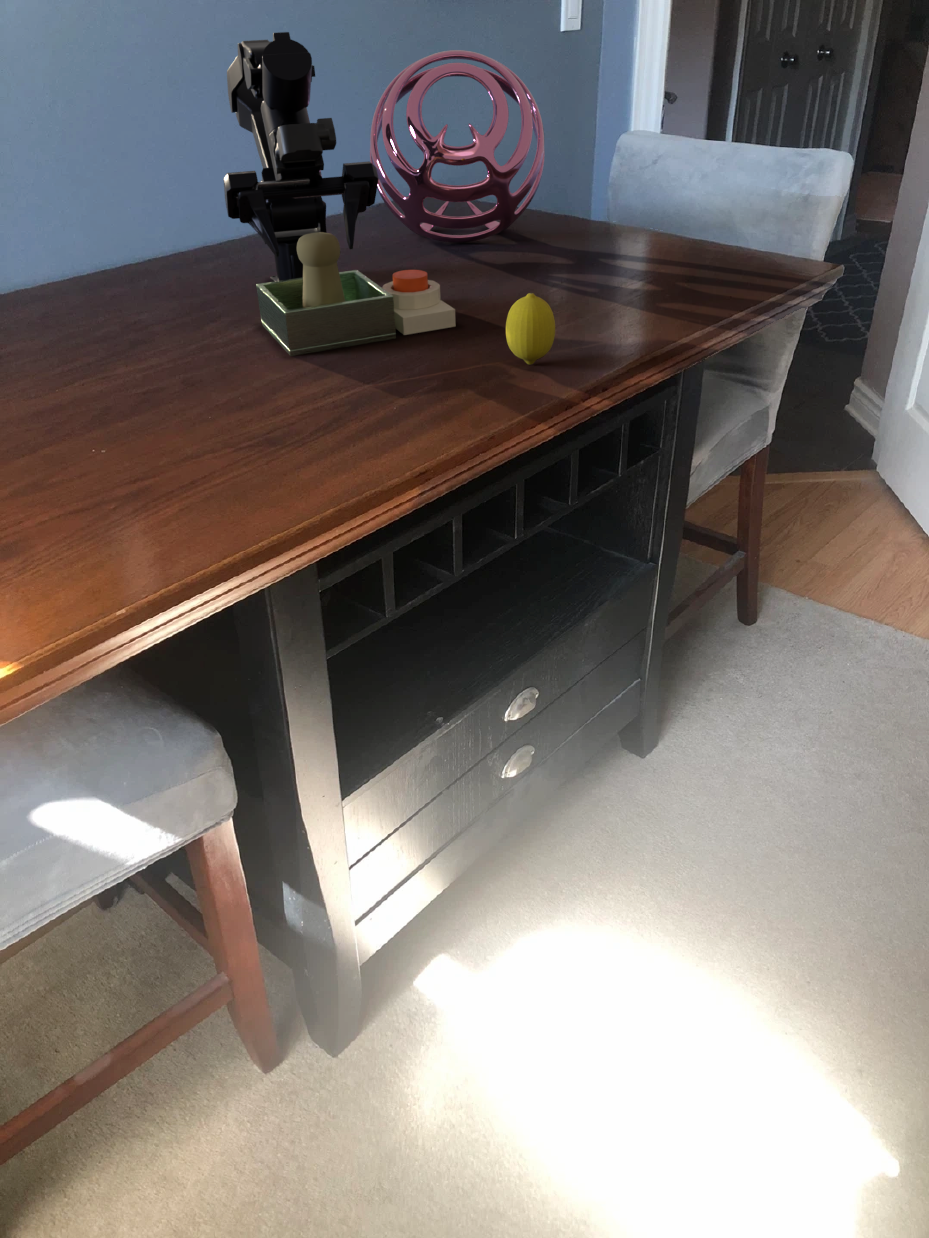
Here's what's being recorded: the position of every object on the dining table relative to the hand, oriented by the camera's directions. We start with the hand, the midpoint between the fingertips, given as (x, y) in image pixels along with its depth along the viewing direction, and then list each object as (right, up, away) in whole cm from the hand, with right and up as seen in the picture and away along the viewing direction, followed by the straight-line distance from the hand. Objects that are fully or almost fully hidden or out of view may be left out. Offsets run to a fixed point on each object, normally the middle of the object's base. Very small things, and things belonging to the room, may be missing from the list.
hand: (314, 251), depth 122 cm
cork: (+1, -9, +2) cm, 9 cm away
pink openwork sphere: (+17, +18, +41) cm, 48 cm away
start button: (+12, -3, +4) cm, 13 cm away
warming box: (+1, -9, +3) cm, 10 cm away
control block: (+12, -6, +6) cm, 15 cm away
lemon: (+26, -16, -9) cm, 32 cm away
